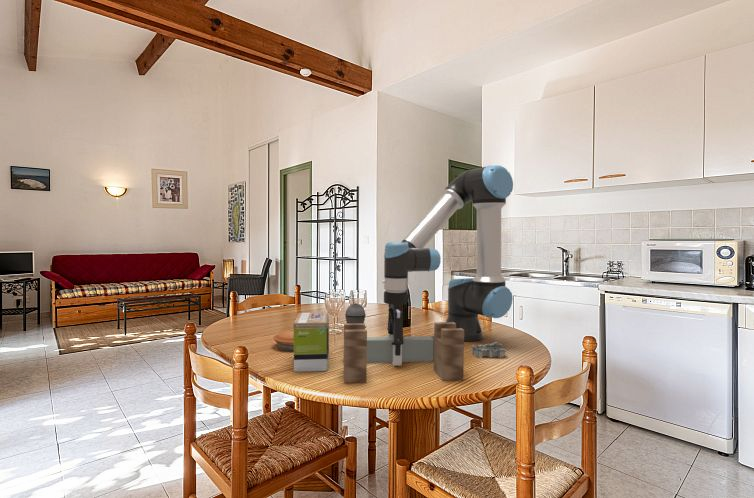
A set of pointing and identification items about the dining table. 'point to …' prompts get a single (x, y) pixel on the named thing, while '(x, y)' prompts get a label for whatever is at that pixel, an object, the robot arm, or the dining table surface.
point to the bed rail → (411, 349)
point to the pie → (285, 340)
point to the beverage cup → (355, 313)
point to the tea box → (311, 342)
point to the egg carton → (489, 350)
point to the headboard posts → (445, 351)
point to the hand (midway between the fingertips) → (394, 359)
